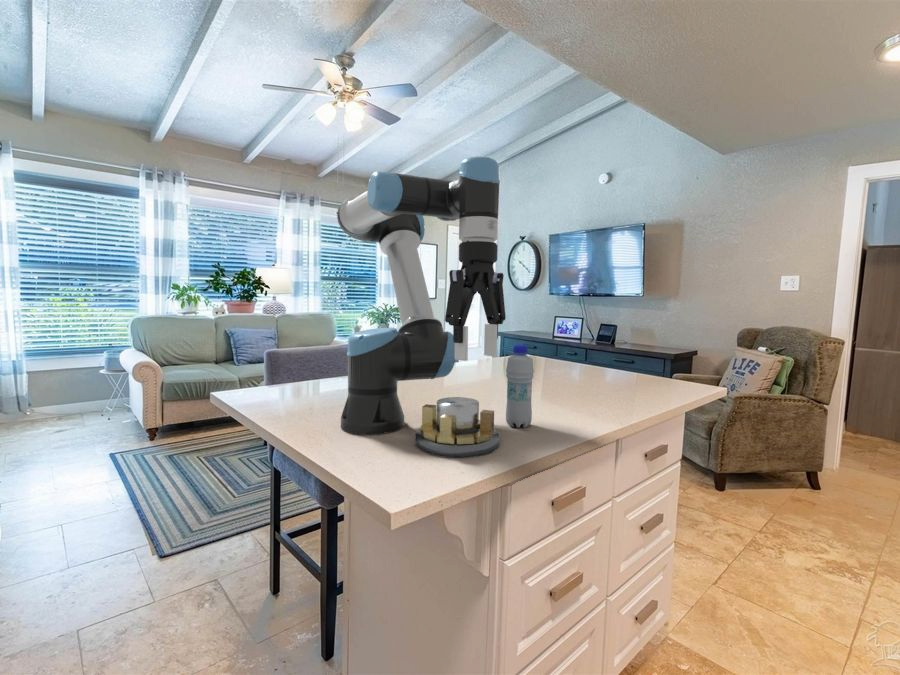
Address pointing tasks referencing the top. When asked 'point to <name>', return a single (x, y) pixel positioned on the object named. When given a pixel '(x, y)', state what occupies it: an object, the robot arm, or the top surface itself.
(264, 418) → the top surface
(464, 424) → the cap plate
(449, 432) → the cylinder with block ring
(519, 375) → the bottle
